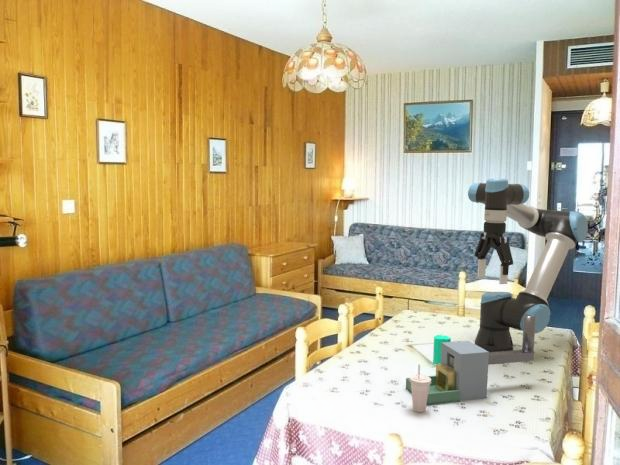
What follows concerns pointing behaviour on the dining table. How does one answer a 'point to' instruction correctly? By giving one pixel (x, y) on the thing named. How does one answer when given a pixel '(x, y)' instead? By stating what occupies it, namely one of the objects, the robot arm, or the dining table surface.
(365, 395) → the dining table surface
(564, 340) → the dining table surface
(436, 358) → the candle
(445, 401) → the tray
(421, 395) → the smoothie
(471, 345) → the bearing block
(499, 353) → the l-shaped bracket
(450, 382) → the spacer
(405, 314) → the dining table surface
